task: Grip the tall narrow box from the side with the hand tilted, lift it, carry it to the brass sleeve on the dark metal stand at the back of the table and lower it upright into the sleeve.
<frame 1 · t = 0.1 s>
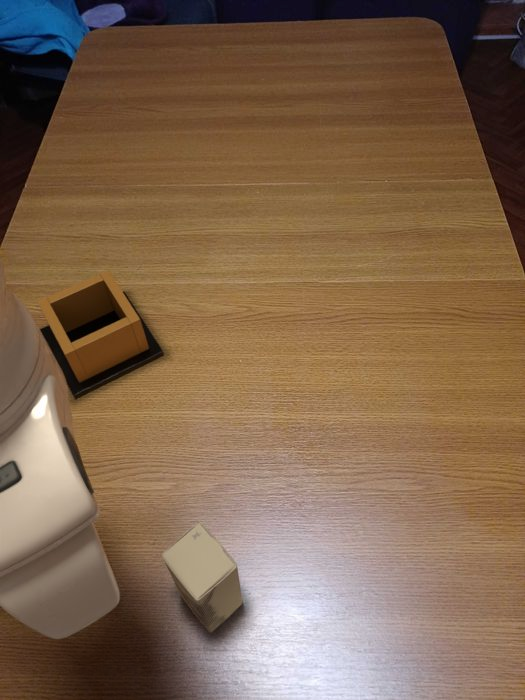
hand: (55, 504, 41), 24 cm above the table, tool pointing down, fingers open, 8 cm apart
spout sleeve: (101, 343, 79), on the table
box: (213, 599, 60), on the table
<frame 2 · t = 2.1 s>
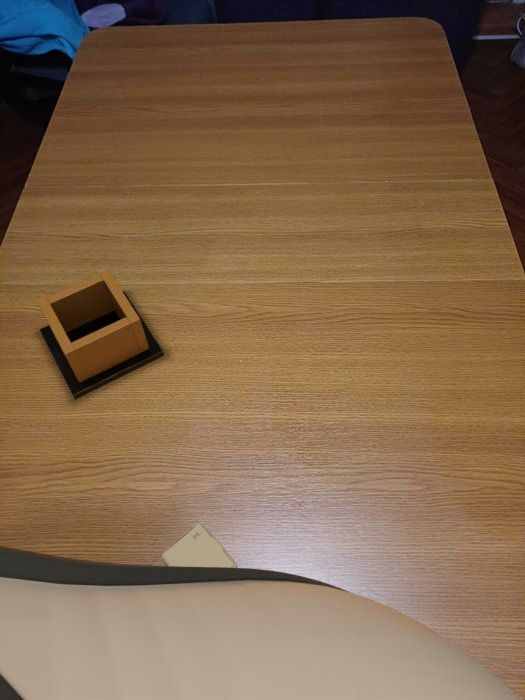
hand: (231, 693, 33), 26 cm above the table, tool tilted 45°, fingers open, 8 cm apart
nothing on the table moved.
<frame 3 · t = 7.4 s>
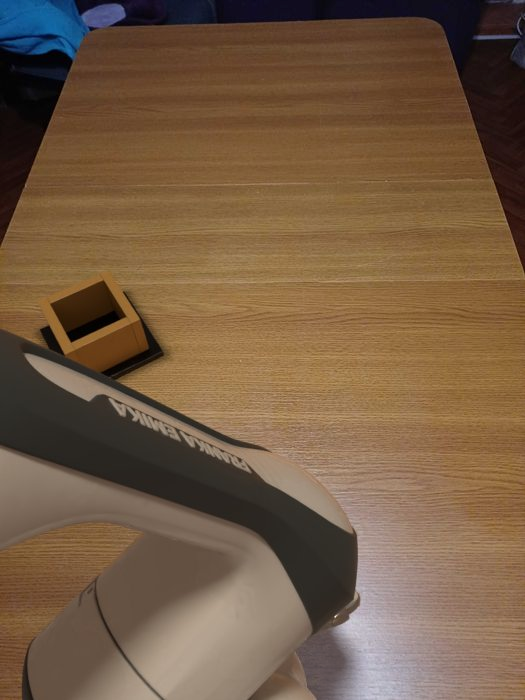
hand: (202, 571, 55), 7 cm above the table, tool tilted 45°, fingers closed on box, 5 cm apart
box: (213, 599, 60), on the table, touching gripper
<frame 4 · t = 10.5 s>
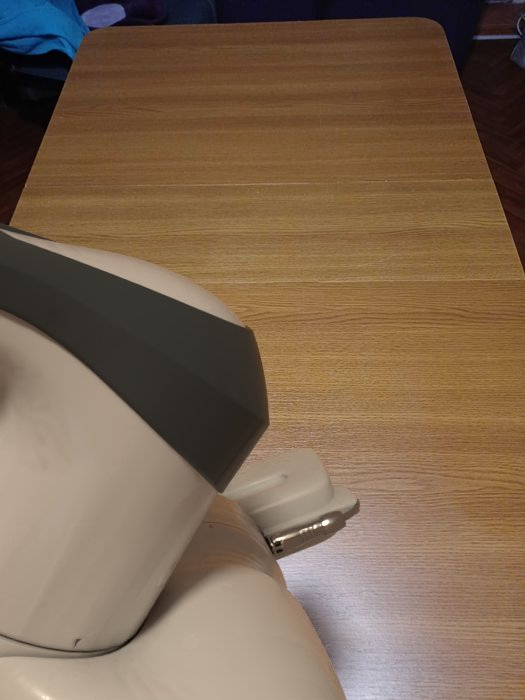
hand: (168, 491, 45), 20 cm above the table, tool tilted 45°, fingers closed on box, 5 cm apart
box: (184, 534, 51), point 13 cm above the table, touching gripper
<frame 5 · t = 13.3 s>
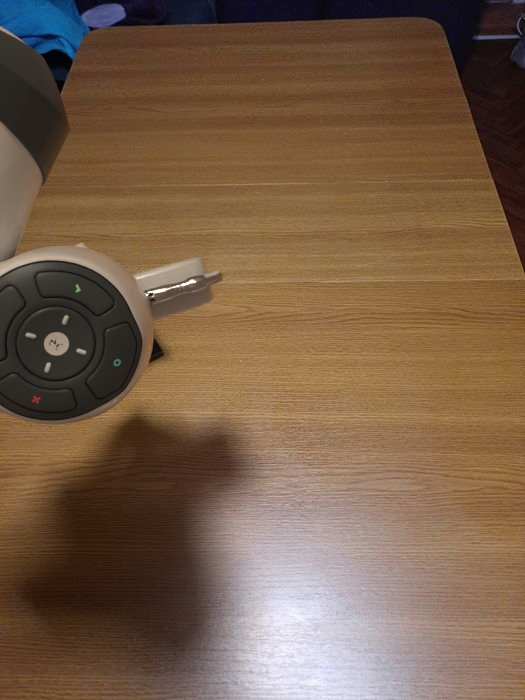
hand: (90, 307, 54), 21 cm above the table, tool tilted 45°, fingers closed on box, 5 cm apart
box: (111, 360, 60), point 14 cm above the table, touching gripper
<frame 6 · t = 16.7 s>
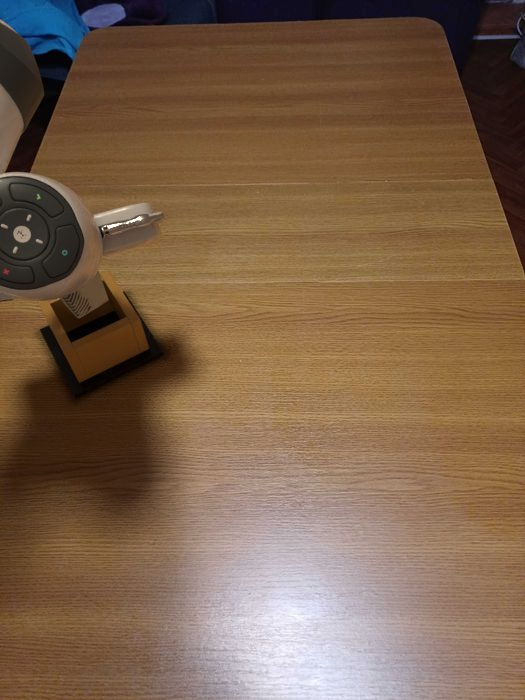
hand: (64, 251, 66), 16 cm above the table, tool tilted 45°, fingers closed on box, 5 cm apart
box: (84, 299, 72), point 9 cm above the table, touching gripper
when the fingers open (8 cm above the table, at t = 19.4 s): box stays where it is, resting on spout sleeve.
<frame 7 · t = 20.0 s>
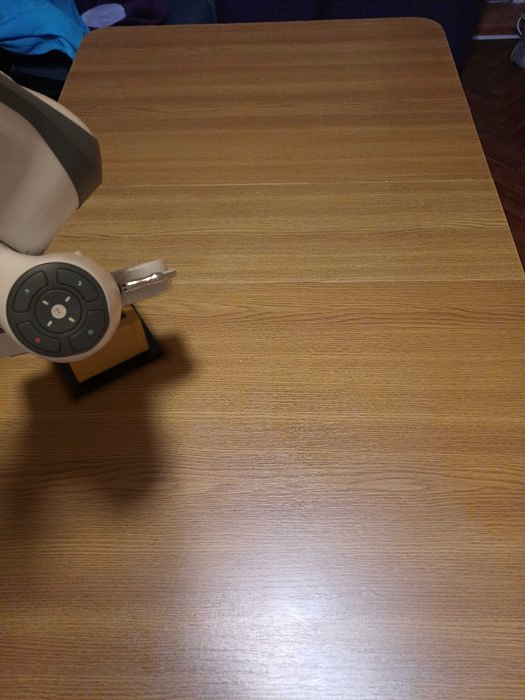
hand: (82, 297, 72), 9 cm above the table, tool tilted 45°, fingers open, 8 cm apart
box: (101, 340, 78), point 1 cm above the table, touching spout sleeve
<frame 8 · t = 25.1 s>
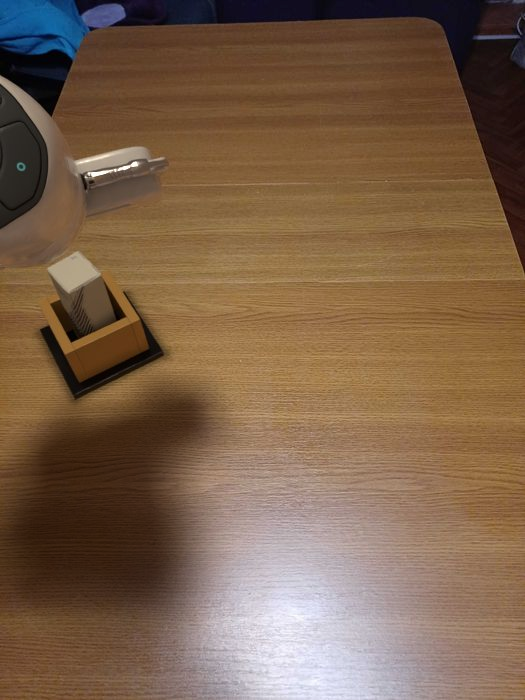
hand: (41, 217, 53), 27 cm above the table, tool tilted 45°, fingers open, 8 cm apart
nothing on the table moved.
at the end: box 0.1 cm off-centre on the spout sleeve, point 0.6 cm above the spout sleeve's base; box tilted 0°; the gripper is holding nothing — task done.
